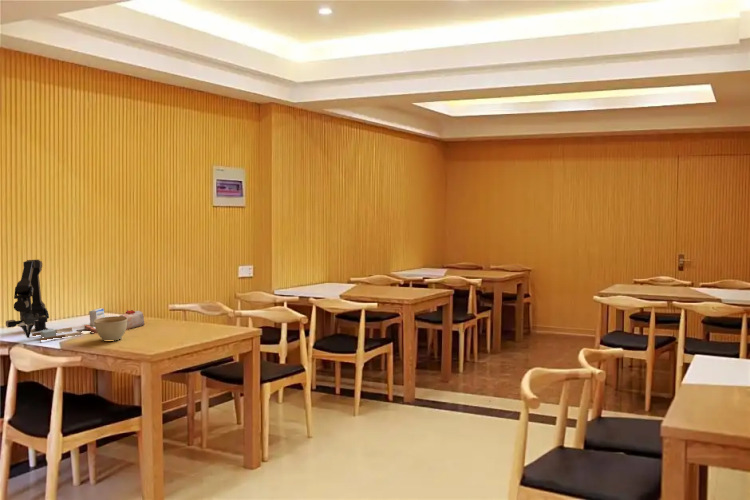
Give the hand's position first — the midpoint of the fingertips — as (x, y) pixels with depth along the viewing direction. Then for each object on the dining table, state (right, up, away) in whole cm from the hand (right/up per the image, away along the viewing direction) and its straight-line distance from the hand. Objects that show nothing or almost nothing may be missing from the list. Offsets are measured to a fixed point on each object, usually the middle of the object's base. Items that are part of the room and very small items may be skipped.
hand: (28, 337), depth 364 cm
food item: (+45, +2, +26) cm, 52 cm away
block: (+8, -1, +6) cm, 10 cm away
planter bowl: (+45, -1, -2) cm, 45 cm away
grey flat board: (+14, 0, +12) cm, 18 cm away
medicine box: (+22, +3, +36) cm, 42 cm away
